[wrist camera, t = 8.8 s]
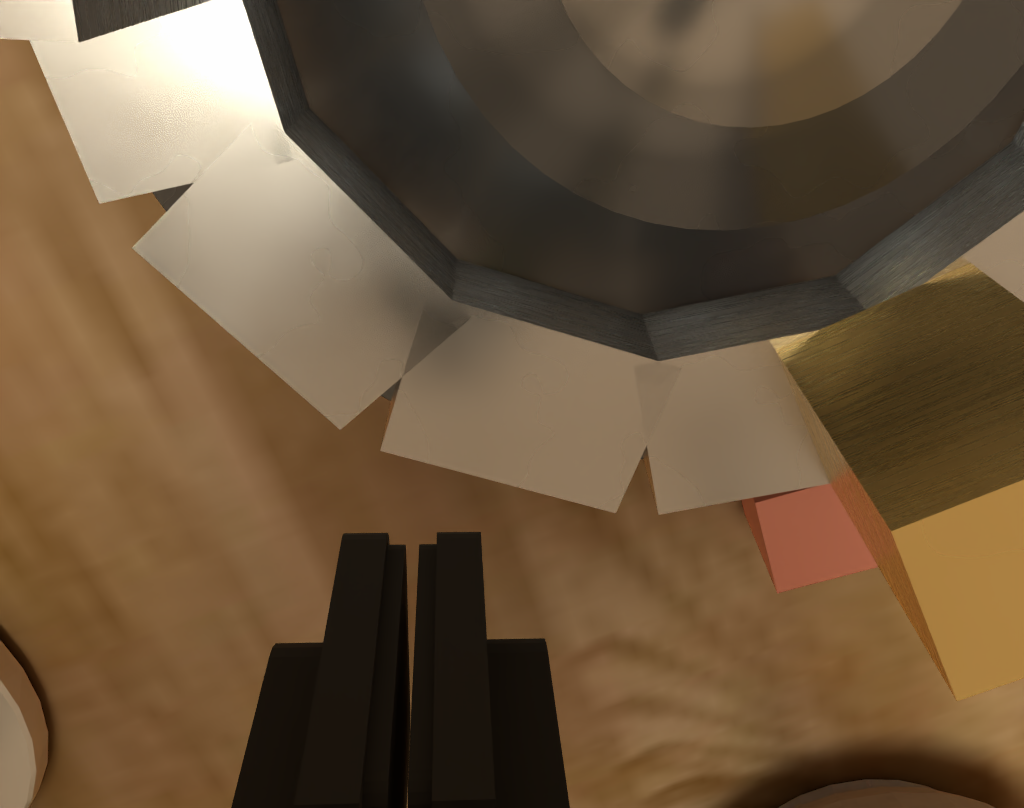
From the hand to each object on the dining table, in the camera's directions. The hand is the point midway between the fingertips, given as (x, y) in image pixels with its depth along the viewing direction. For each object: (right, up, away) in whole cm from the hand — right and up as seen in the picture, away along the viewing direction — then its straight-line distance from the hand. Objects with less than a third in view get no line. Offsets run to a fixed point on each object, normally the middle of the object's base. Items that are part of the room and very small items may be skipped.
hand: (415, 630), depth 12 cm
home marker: (+8, +2, +11) cm, 13 cm away
